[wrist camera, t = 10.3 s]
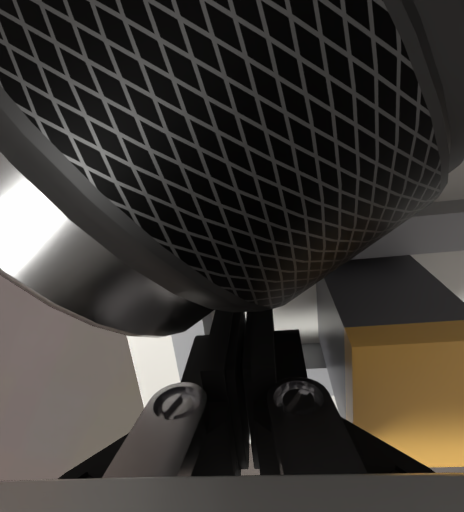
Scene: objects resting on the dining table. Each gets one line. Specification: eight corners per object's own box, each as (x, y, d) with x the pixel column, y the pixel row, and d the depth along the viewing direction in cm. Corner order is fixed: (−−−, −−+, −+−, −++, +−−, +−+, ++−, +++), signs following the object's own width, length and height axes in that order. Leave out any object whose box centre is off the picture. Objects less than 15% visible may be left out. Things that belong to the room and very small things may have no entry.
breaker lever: (401, 247, 13) (505, 338, 7) (399, 332, 14) (487, 466, 8) (314, 255, 13) (352, 347, 8) (318, 337, 14) (353, 469, 9)
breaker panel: (680, 50, 12) (842, 20, 9) (593, 397, 17) (678, 467, 13) (100, 126, 14) (50, 126, 11) (164, 414, 19) (142, 477, 15)
